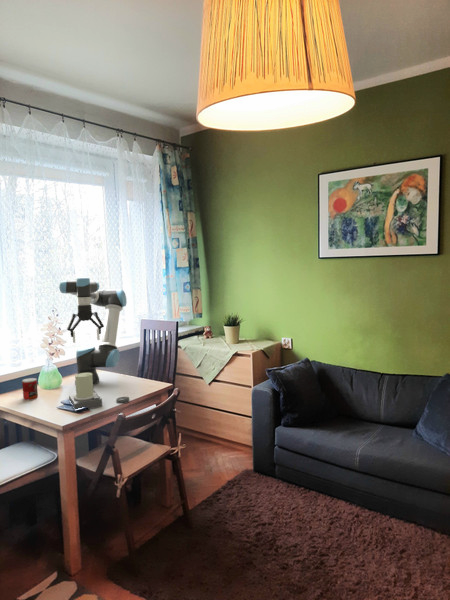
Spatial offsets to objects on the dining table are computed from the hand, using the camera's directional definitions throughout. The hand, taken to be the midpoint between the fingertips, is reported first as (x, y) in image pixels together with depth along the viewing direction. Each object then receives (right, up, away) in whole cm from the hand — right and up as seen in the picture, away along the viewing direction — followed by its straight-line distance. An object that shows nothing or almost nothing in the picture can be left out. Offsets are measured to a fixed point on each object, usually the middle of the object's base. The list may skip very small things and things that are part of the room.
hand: (86, 341), depth 247 cm
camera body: (+3, -34, -11) cm, 36 cm away
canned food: (-34, -34, +3) cm, 48 cm away
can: (+3, -29, -11) cm, 31 cm away
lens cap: (+23, -33, -8) cm, 41 cm away
